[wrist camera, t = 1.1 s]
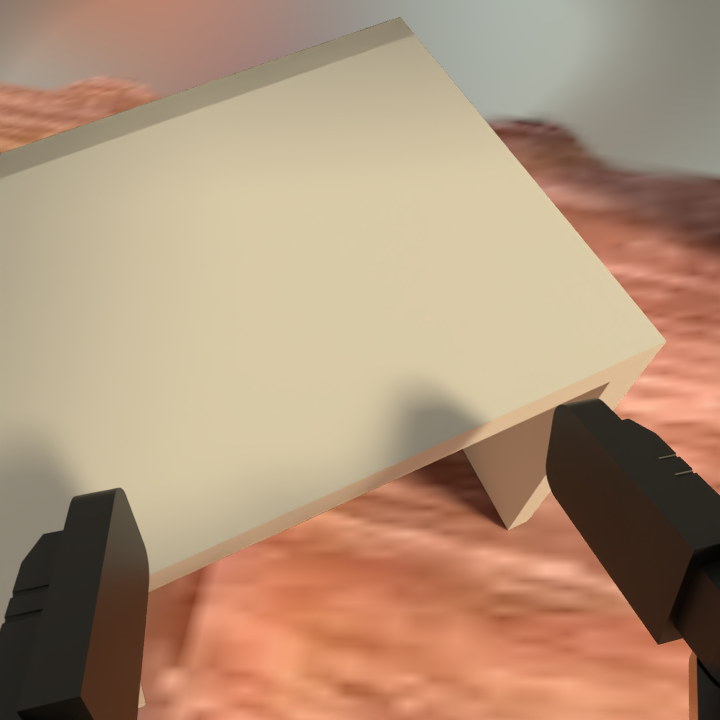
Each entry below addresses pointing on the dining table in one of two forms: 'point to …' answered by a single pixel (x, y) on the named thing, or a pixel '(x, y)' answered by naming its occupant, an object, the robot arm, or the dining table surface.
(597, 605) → the dining table surface
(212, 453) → the cubby
